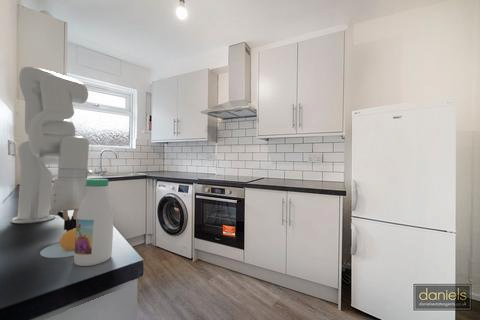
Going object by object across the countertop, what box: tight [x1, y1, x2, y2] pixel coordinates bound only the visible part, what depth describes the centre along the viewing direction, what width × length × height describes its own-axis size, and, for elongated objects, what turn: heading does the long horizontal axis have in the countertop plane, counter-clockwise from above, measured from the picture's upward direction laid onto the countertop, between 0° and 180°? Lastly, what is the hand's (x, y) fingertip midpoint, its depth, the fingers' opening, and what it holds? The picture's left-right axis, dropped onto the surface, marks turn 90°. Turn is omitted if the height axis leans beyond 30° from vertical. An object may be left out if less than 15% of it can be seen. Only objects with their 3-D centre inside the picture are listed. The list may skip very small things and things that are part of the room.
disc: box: [39, 242, 74, 259], centre depth 59 cm, size 13×13×1 cm
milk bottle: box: [73, 178, 114, 267], centre depth 53 cm, size 8×8×20 cm
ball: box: [59, 229, 76, 251], centre depth 58 cm, size 6×6×6 cm
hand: (69, 231), depth 69 cm, fingers closed
